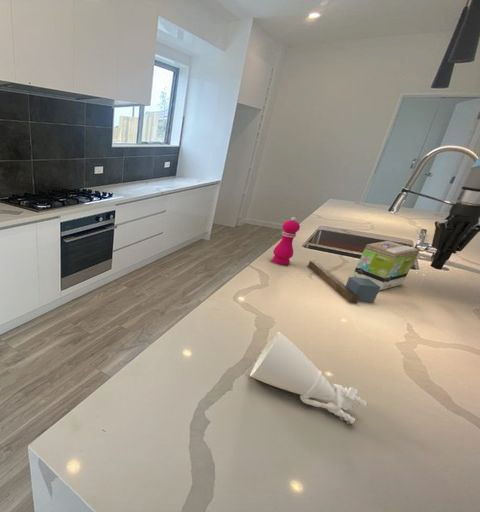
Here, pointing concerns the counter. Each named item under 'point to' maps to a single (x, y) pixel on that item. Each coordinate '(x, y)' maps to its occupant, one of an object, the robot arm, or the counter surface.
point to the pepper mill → (286, 242)
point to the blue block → (363, 288)
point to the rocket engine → (302, 377)
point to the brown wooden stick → (334, 282)
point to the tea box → (386, 263)
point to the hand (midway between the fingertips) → (435, 267)
